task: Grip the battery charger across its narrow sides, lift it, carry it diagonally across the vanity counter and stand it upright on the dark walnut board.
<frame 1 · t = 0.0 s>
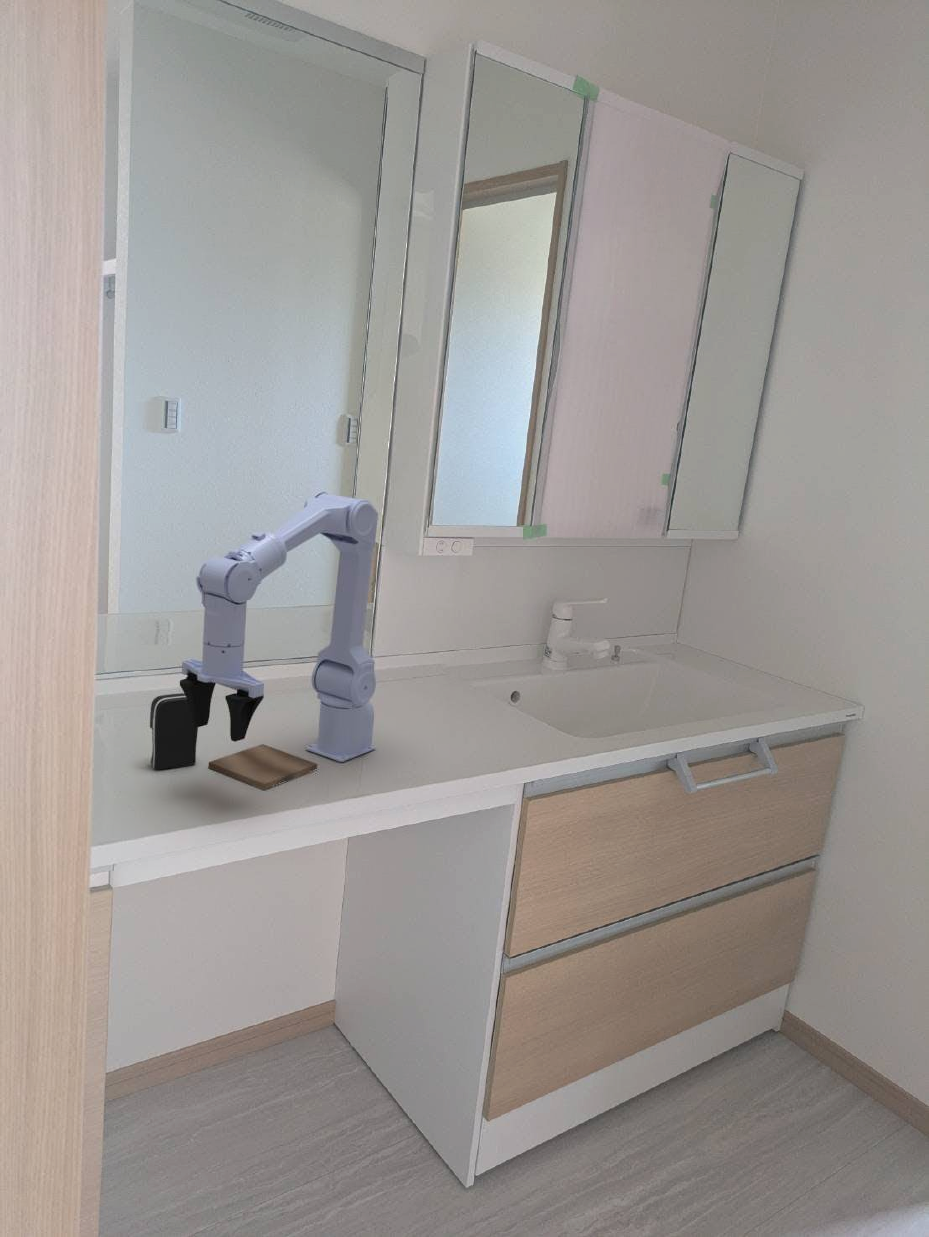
hand: (219, 732, 144), 10 cm above the counter, tool pointing down, fingers open, 7 cm apart
battery charger: (171, 765, 157), on the counter
walnut board: (263, 768, 158), on the counter
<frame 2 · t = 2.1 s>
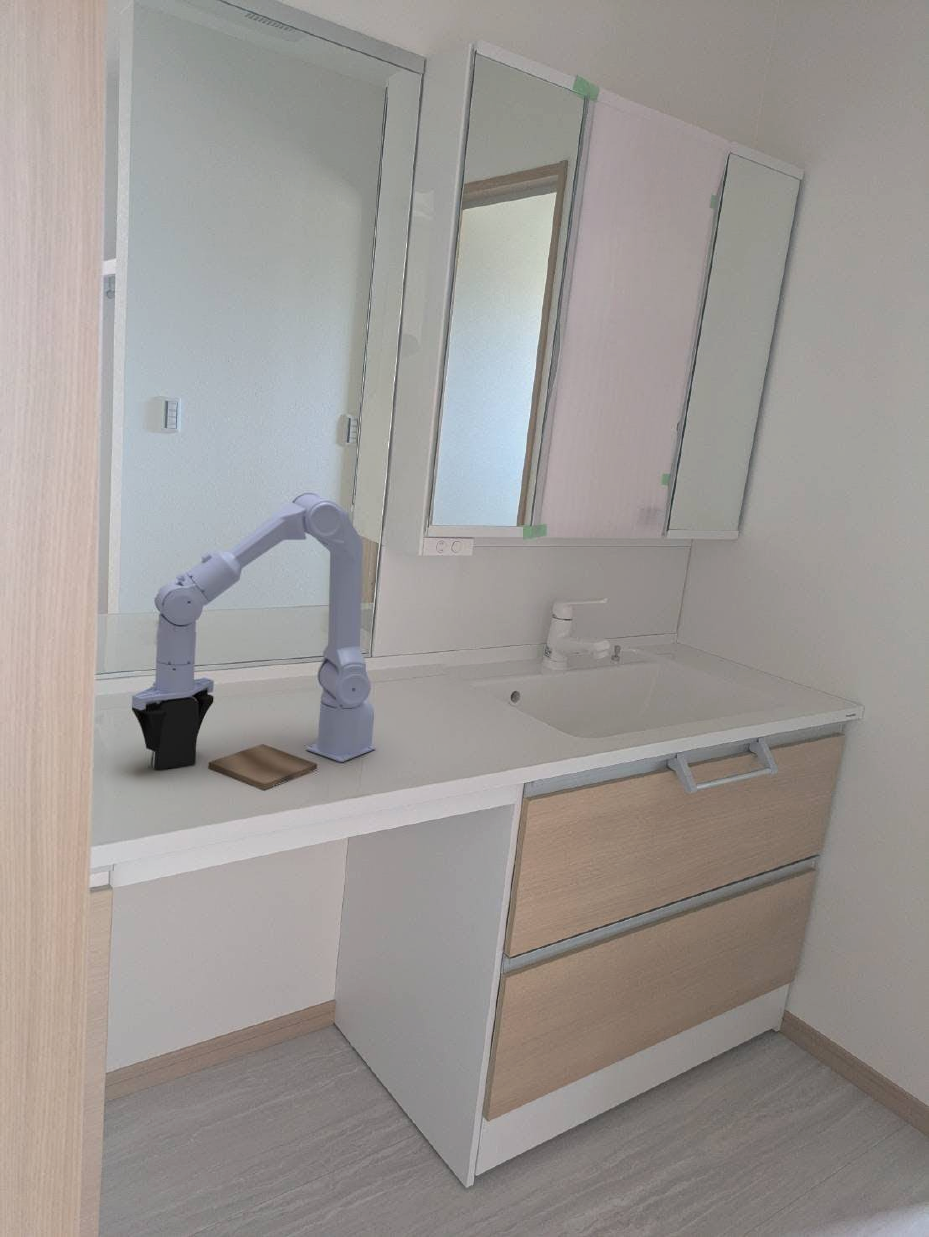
hand: (171, 743, 156), 3 cm above the counter, tool pointing down, fingers open, 7 cm apart
battery charger: (171, 765, 157), on the counter, touching gripper
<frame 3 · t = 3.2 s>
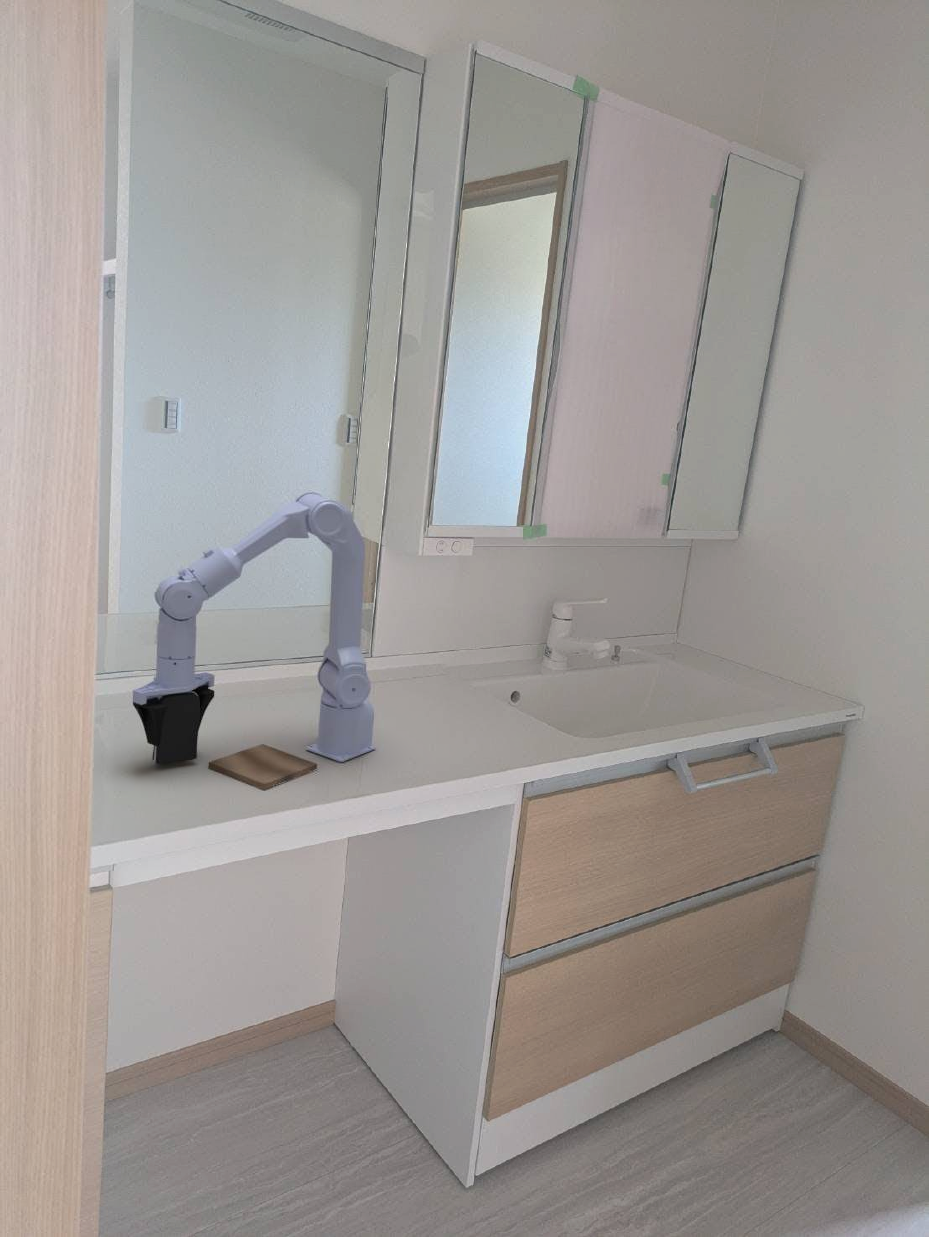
hand: (173, 738, 156), 4 cm above the counter, tool pointing down, fingers closed on battery charger, 7 cm apart
battery charger: (172, 760, 157), point 1 cm above the counter, touching gripper
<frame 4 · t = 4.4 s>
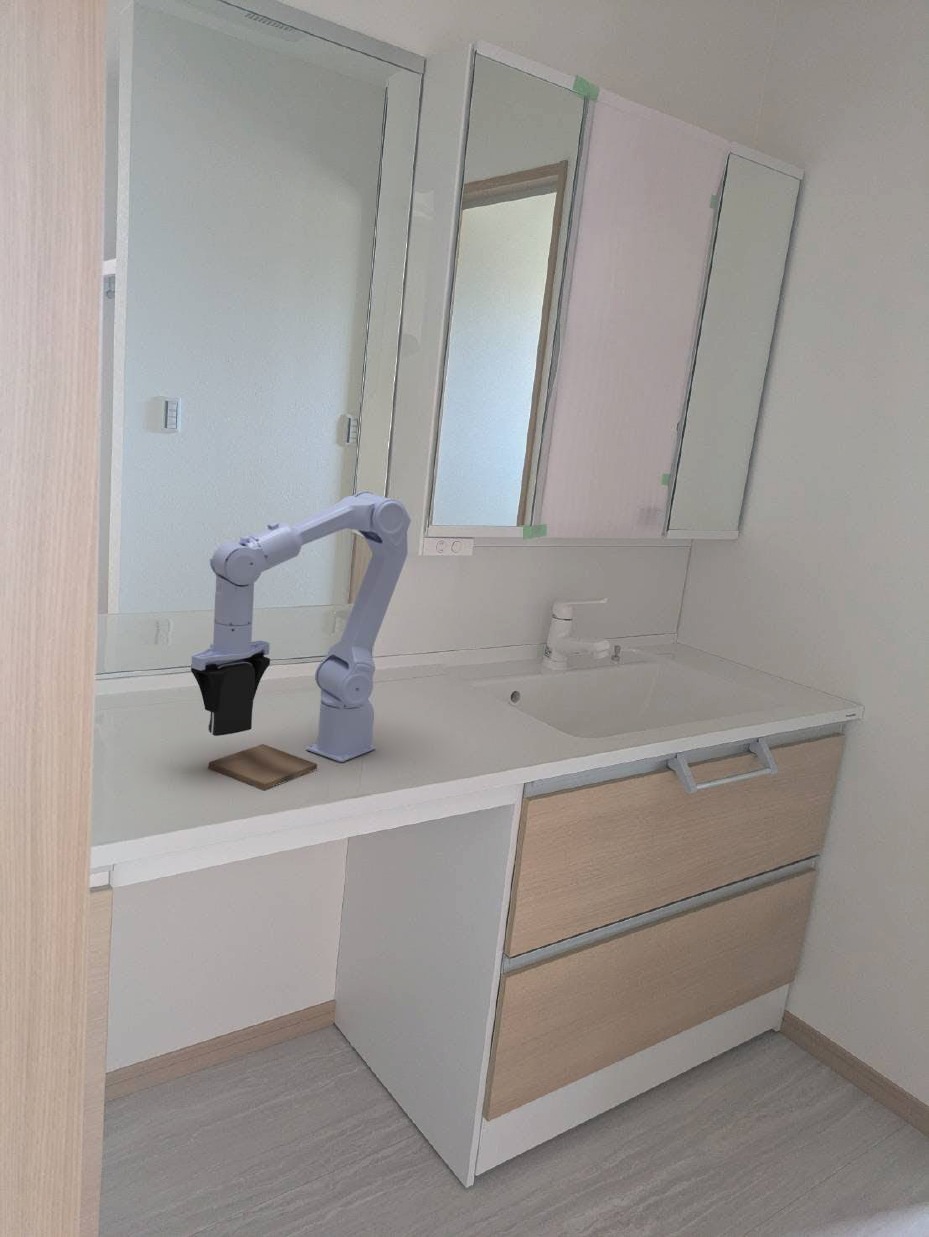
hand: (229, 705, 155), 10 cm above the counter, tool pointing down, fingers closed on battery charger, 7 cm apart
battery charger: (227, 731, 157), point 6 cm above the counter, touching gripper
when the fingers open (7 cm above the counter, at t = 5.5 s): battery charger stays where it is, resting on walnut board.
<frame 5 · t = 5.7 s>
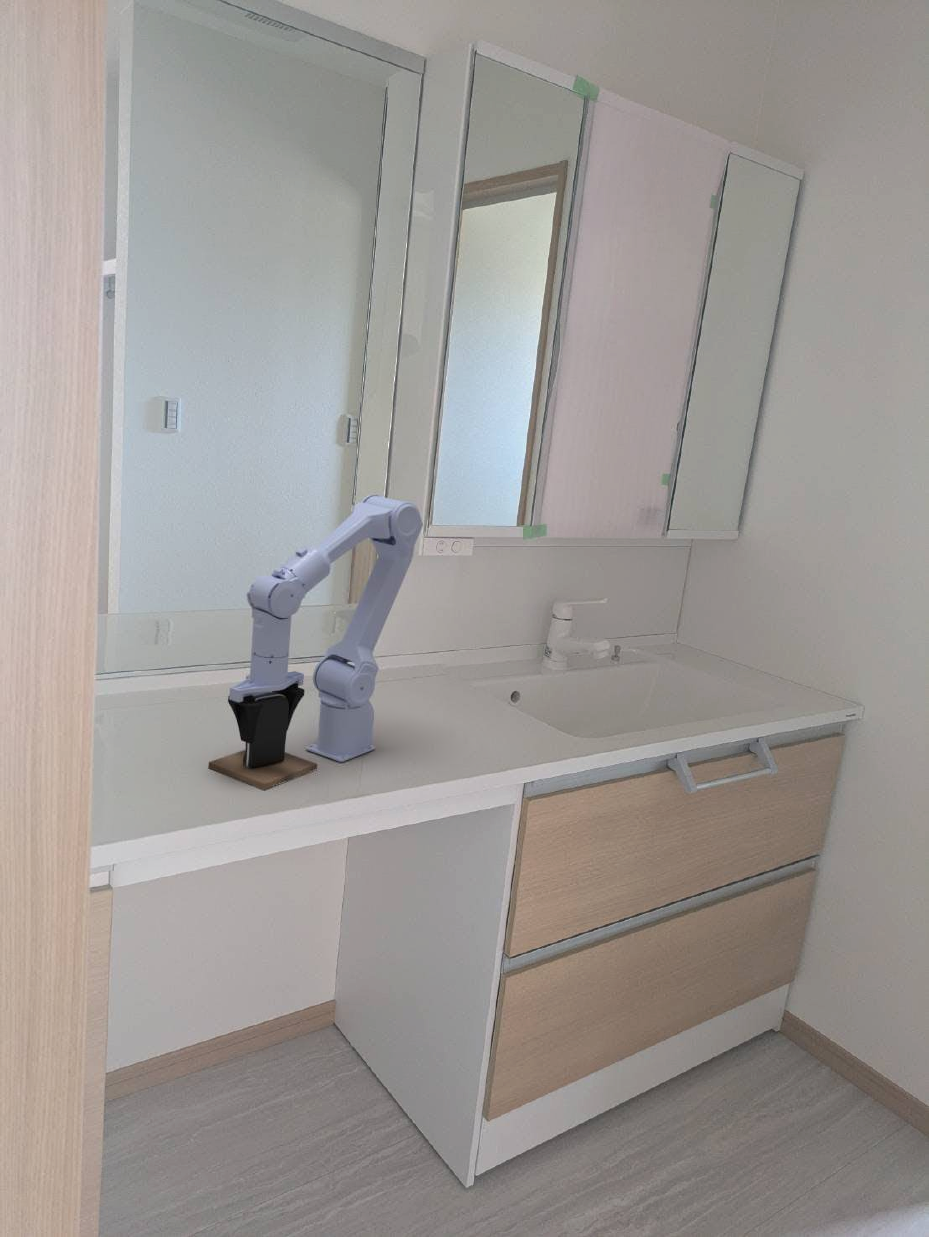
hand: (264, 735, 157), 6 cm above the counter, tool pointing down, fingers open, 7 cm apart
battery charger: (261, 763, 158), point 1 cm above the counter, touching gripper, walnut board
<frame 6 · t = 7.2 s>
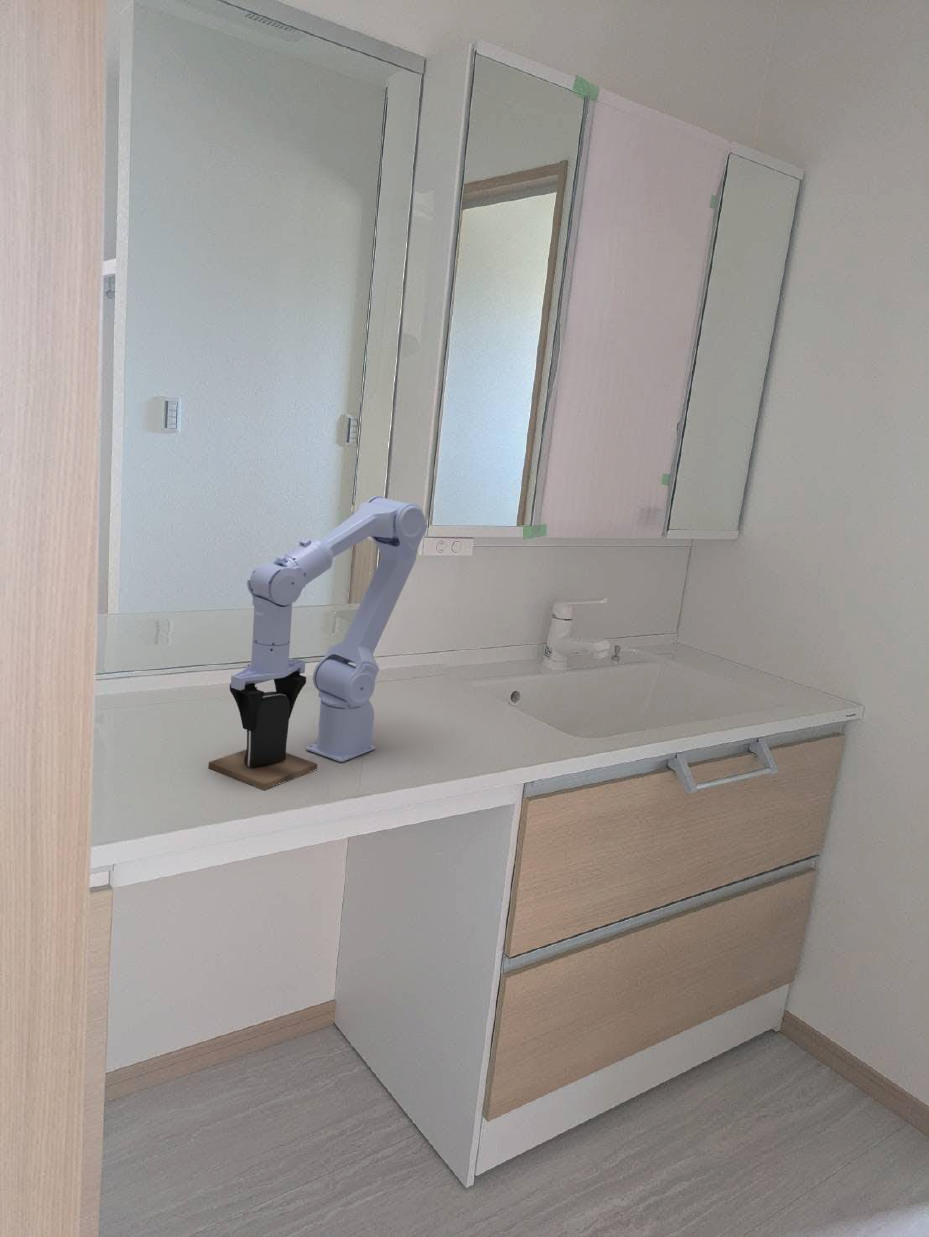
hand: (266, 723, 157), 8 cm above the counter, tool pointing down, fingers open, 7 cm apart
battery charger: (262, 763, 159), point 1 cm above the counter, touching gripper
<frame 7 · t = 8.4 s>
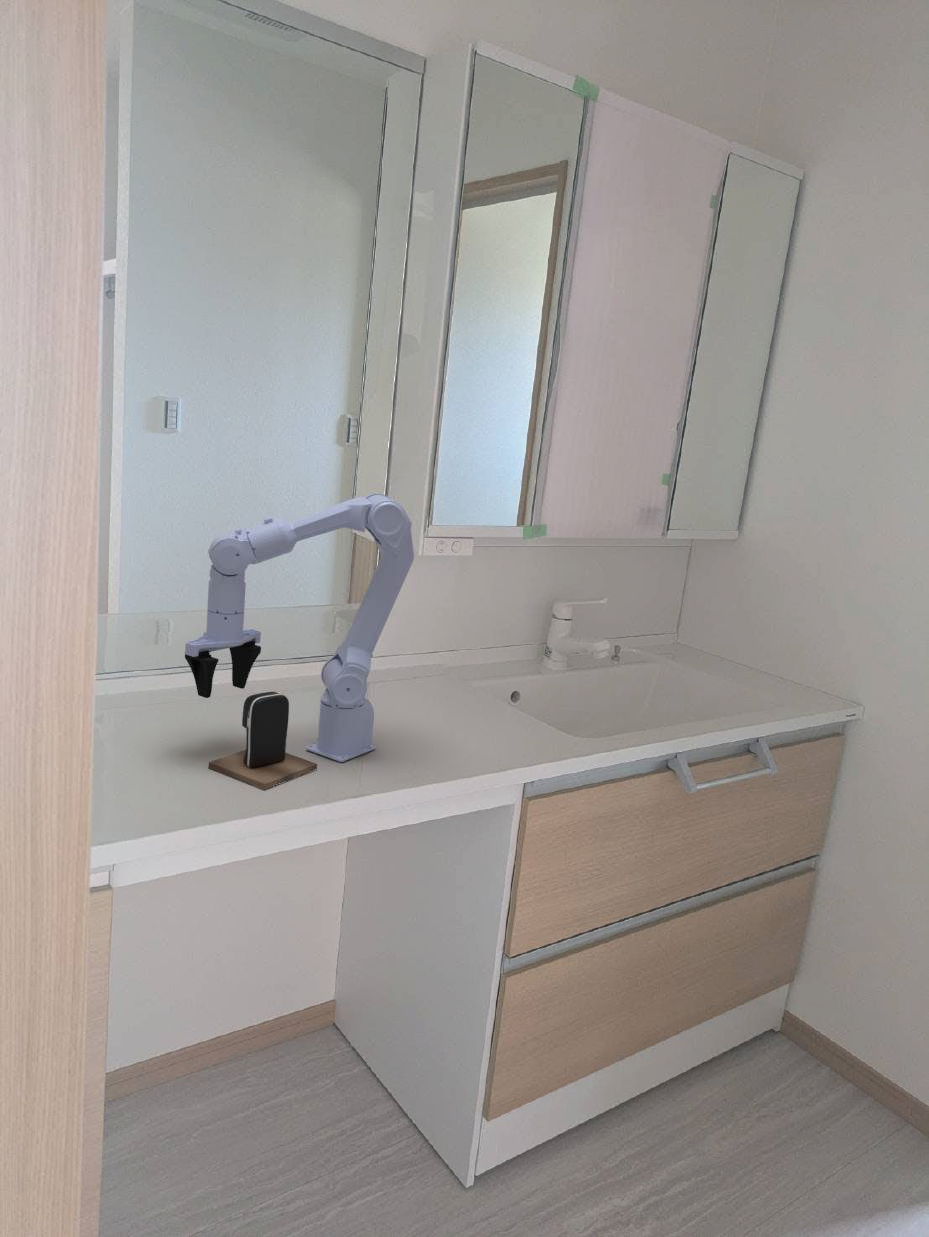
hand: (221, 691, 161), 10 cm above the counter, tool pointing down, fingers open, 7 cm apart
battery charger: (261, 763, 159), point 1 cm above the counter, touching walnut board
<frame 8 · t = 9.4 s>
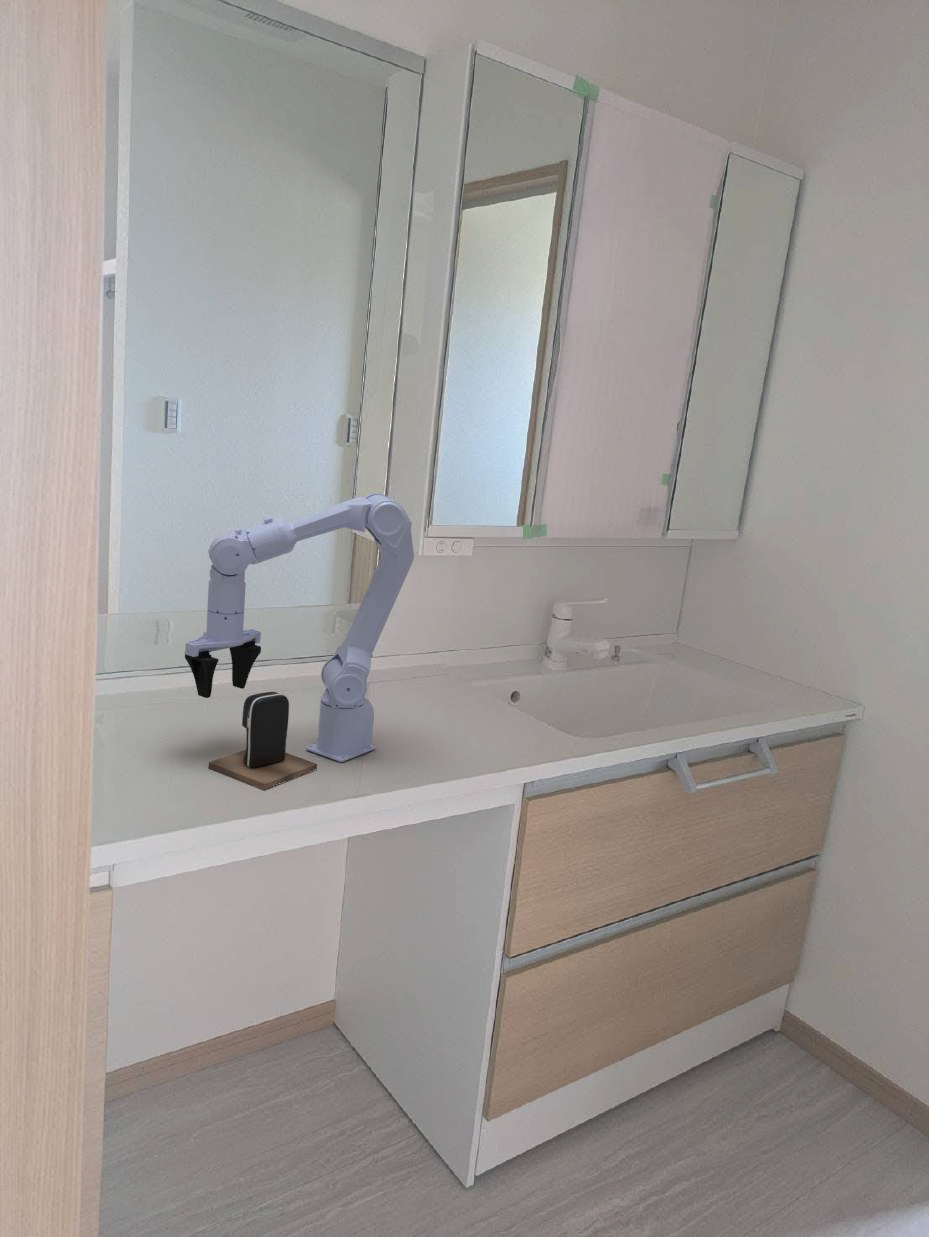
hand: (221, 691, 161), 10 cm above the counter, tool pointing down, fingers open, 7 cm apart
nothing on the counter moved.
at the end: battery charger inside the target area on the walnut board (0.5 cm from its centre), point 0.8 cm above the walnut board's base; battery charger tilted 0°; the gripper is holding nothing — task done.
